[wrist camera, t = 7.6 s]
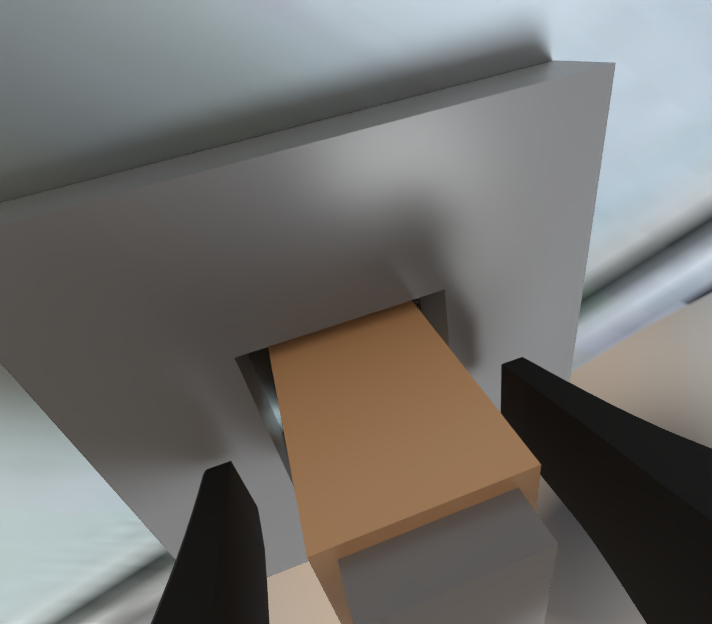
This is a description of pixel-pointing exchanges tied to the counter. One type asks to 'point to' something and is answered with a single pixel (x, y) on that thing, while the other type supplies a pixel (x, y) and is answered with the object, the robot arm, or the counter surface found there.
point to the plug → (409, 478)
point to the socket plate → (297, 275)
